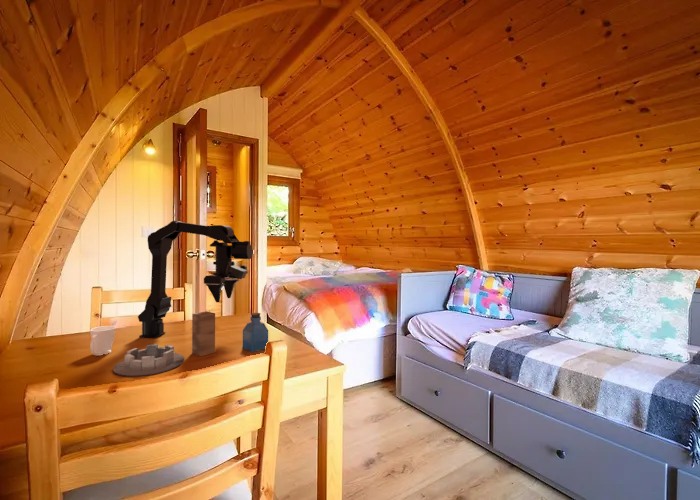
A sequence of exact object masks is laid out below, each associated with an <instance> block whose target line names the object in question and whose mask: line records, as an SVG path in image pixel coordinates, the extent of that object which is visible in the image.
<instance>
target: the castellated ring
mask: <svg viewBox="0 0 700 500" xmlns="http://www.w3.org/2000/svg"><path fill="white" fill-rule="evenodd" d="M184 362H185V356H184V355H183V354H181V353H176V352H175V346H174V345H171V344H166V345H164V347H161V346H160V347H159V344H158V343H156V344H147V345H146V347H145V348H143V349H140V350H139V348H137V347H134V348H132V349H129V350H127V351H126V354H124V359H123V360H121V361H119V362H117V363H116V364H115V365H114V366H113V373H114V374H116V375H118V376H121V377H128V378H129V377H132V378H134V377H136V378H137V377H146V376H153V375H157V374H163V373H166V372H168V371H172V370H174V369H176V368H178V367H180V366H181V365H182V364H183V363H184Z"/></svg>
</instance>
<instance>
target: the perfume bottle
mask: <svg viewBox="0 0 700 500" xmlns="http://www.w3.org/2000/svg"><path fill="white" fill-rule="evenodd" d="M261 320H262V316H261V313H260V312H251V313H250V321H251V322H247V323H246V325H245V326H244V327H243V330H242V348H243V349H244V350H247V351H248V352H250V353H253V352H257V351H262V350H265V346H266V343H267V342H268V343H269V330H268V327H267V326H266V324H265V322H264V323H263V322H261Z"/></svg>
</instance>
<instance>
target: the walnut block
mask: <svg viewBox="0 0 700 500" xmlns="http://www.w3.org/2000/svg"><path fill="white" fill-rule="evenodd" d="M191 315H192V317H191V318H192V320H191V321H192V322H191V335H192V336H191V337H192V339H191V340H192V341H191V346H192V347H191V354H193V355H197V356H200V357H202V356H206V355H210V354H213V353H216V313H215V312H212V311H211V312H210V311H206V310H205V311H200V312H195V313H192V314H191Z"/></svg>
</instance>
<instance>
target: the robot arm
mask: <svg viewBox="0 0 700 500" xmlns="http://www.w3.org/2000/svg"><path fill="white" fill-rule="evenodd" d="M181 233H187V234H192V235H193V234H194V235H199V236H200V235H201V236H206V237H208V238H211V239H212V240H213V242H212V243H211V244H209V247H215V261H213V262H212V264H213V265H214V266H215V272H213V273H212V274H208V275H205V276H204V277H203V284H205V286H206V287H207V288H208V289H209V291H210V294H211V295H212V297H213V298H214V301H215V303H220V302H221V293H222V289H224V292H225V294H226V297H227V299H231V297H232V294H233V291H234V288H235V285H236V284H237V283H238V282H240V280H242V279H245V278H246V275H247V274H248V273H249V272H248V267H247V265H245V264H242V265H240V266H239V265H238V266H237V265H235V261H234V260H232V258H233V259H235V260H251V259H252V257H253V253H254V249H253V247H252V245H251V244H252V243H251V241H250V240H244V241H240V240H239V239H238V237H237V236H236V235H235V231H234V229H233V227H231V226H230V225H222V224H219V225H216V224H215V225H212V224H211V225H204V224H198V223H197V224H196V223H190V222H189V223H188V222H183V221H180V220H179V221H178V220H172V221H170V222H169V223H168V224H166V225H164V226H163V227H161V228H158V229H157V230H156V231H154V232H151V233H150V234H149V235H148V236H147V247H148V250H149V252H150V253H151V258H152V259H151V277H150V278H151V280H150V281H151V282H150V284H151V285H150V293H149V296H148V297H147V299H146V301H145V307H144V310H142V312H140V314H138V316H137V319H138V321H139V322H140V323H141V334H140V335H138V337H139V338H152V339H153V338H158V337H160V336H162V335H164V334H166V331H165V326H164V325H165V323H164V321H163V320H164V318H166V315H167V313H168V312H169V311H170V309H171V308H172V296H168V295H167V293H166V287H167V285H166V284H167V263H168V255H169V254H170V251H171V249H172V247H173V246H172V245H173V241H175V240H176V239H177V238H178V237H179V235H180V234H181ZM221 241H222V242H221ZM229 244H230V245H229ZM223 287H224V288H223Z"/></svg>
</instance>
